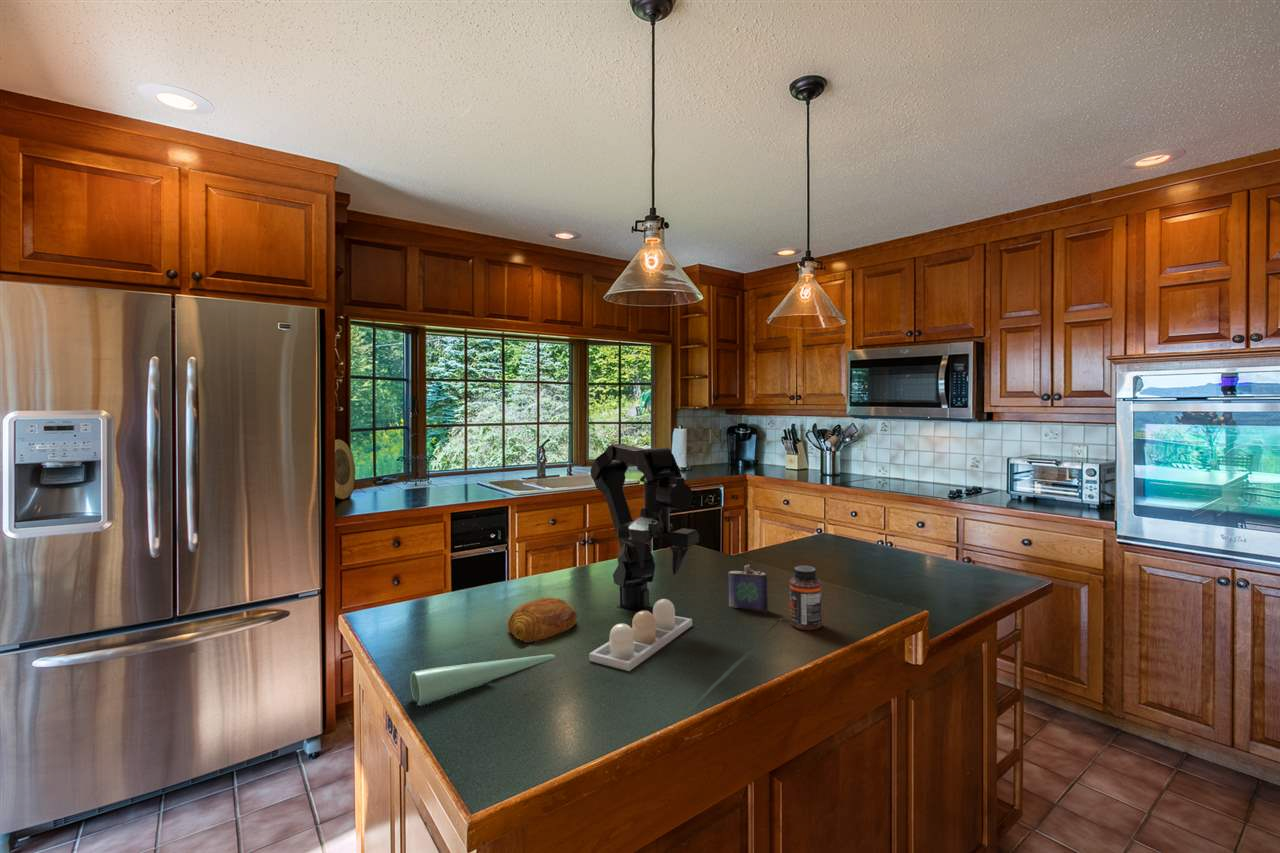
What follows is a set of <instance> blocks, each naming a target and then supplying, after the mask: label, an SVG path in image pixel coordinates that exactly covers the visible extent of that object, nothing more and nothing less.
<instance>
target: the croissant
mask: <svg viewBox="0 0 1280 853" xmlns="http://www.w3.org/2000/svg"><path fill="white" fill-rule="evenodd" d="M577 618H578V614H577V611H576V610H575V609H574V607H573V606H572V605H570V604H569V603H567V602H566V601H565V600H564V599H561V598H555V597H554V598H553V597H541V598H538V599H537V598H536V599H535V600H532V601H528V602H526V603H522V605H520V606H518V607H517V608H515V609H514V610H513V612H512V614H511V615H510V617H509V619H508V622H507V627H508V629H507V630H508V632H509V631H510V632H509V634H511V633H513V635H514V637H515V638H516V639H517V640H519V639H520V640H519V641H522V640H523V641H522V642H524V641H526V642H525V643H527V642H532V641H535V642H534V643H537V642H539V641H541V640H545V639H549V638H551V637H554V636H556V635H559V634H562V633H564V632H566V631H569V630H570V629H572V628H573V627H574V626H575V625H576V624H577V621H578V619H577ZM513 635H512V636H513ZM536 641H537V642H536Z"/></svg>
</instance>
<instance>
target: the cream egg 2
mask: <svg viewBox="0 0 1280 853" xmlns="http://www.w3.org/2000/svg"><path fill="white" fill-rule="evenodd" d="M674 605H675V604H673V602H672V601H671V600H669V599H666V598H660V599H659V600H657V601H655V602H654V604H653V608H652V614H653V616H654V618H655V621H656V628H659V629H664V630H669V631H671V630H673V629H674V628H675V616H676V610H675V606H674Z"/></svg>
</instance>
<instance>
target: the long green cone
mask: <svg viewBox="0 0 1280 853" xmlns="http://www.w3.org/2000/svg"><path fill="white" fill-rule="evenodd" d="M555 658H556V655H555V654H542V655H534V656H524V657H515V658H508V659H497V660H489V661H481V662H473V663H472V662H471V663H465V664H464V663H463V664H456V665H447V666H446V665H445V666H439V667H432V668H426V669H420V670H415V671H411V673H410V690H411V695H412V698H413V699H418V698H419V697H420V698H419V702H418V705H420V704H423V703H427V702H430V701H434V700H437V699H440V698H443V697H446V696H449V695H452V694H455V693H458V692H461V691H464V690H467V689H470V688H473V687H476V686H479V685H482V684H484V683H488V682H492V681H493V680H496V679H499V678H503V677H505V676H508V675H511V674H514V673H516V672H519V671H523V670H525V669H528V668H531V667H534V666H537V665H539V664H543V663H545V662H548V661H550V660H553V659H555ZM488 684H489V683H488ZM482 686H483V685H482ZM479 687H480V686H479ZM476 688H477V687H476ZM413 699H412V700H413ZM418 705H417V706H418Z"/></svg>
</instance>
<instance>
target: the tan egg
mask: <svg viewBox="0 0 1280 853" xmlns="http://www.w3.org/2000/svg"><path fill="white" fill-rule="evenodd" d="M631 626H632V627H633V632H634V641H635V642H639V643H644V644H648V645H651V644H653V643H654V642H656V621H655V618H654V616H653V612H652V613H651V612H650V611H649V610H640V611H637V612H636V613H635V614H634V616H633V618H632V624H631ZM632 627H631V628H632Z"/></svg>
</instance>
